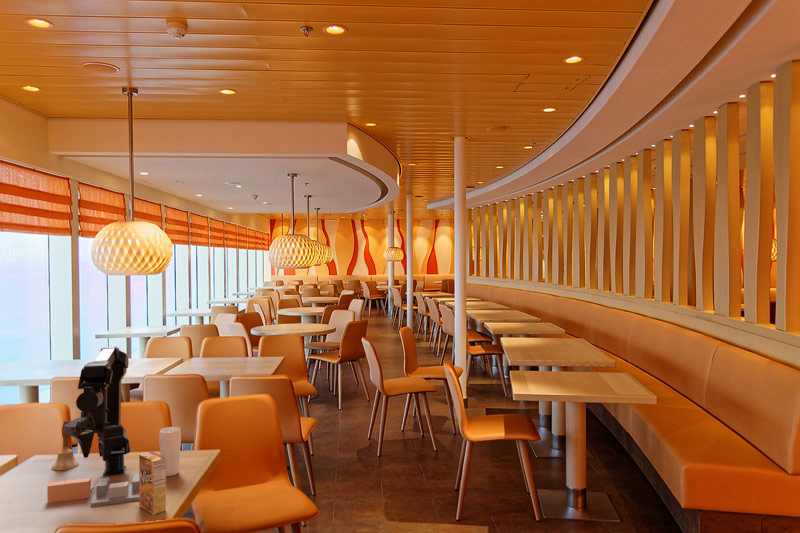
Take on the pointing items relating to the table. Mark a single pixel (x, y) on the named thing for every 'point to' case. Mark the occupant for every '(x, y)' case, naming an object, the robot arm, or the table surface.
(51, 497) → the orange bracket
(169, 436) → the drinking glass
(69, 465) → the hand bell
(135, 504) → the table surface
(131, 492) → the display stand
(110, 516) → the table surface
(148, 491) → the candy box
